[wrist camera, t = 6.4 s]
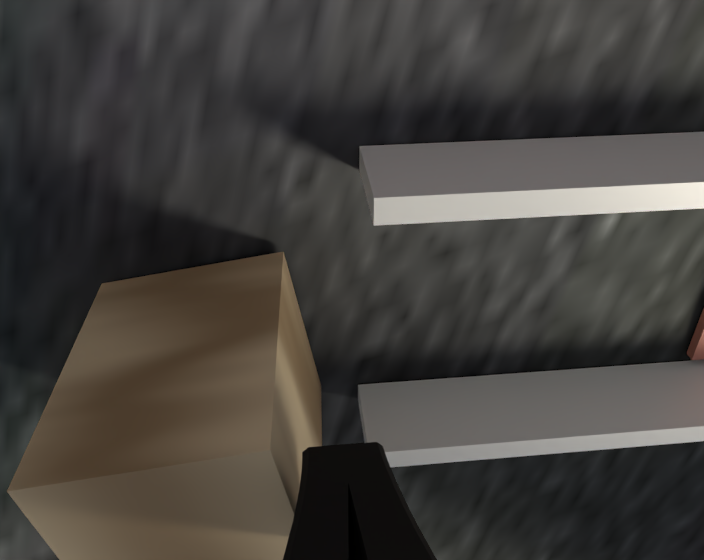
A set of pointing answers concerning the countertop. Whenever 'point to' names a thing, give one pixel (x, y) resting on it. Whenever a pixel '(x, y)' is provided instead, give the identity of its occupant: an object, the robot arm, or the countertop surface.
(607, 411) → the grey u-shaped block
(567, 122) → the countertop surface
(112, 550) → the maple block
